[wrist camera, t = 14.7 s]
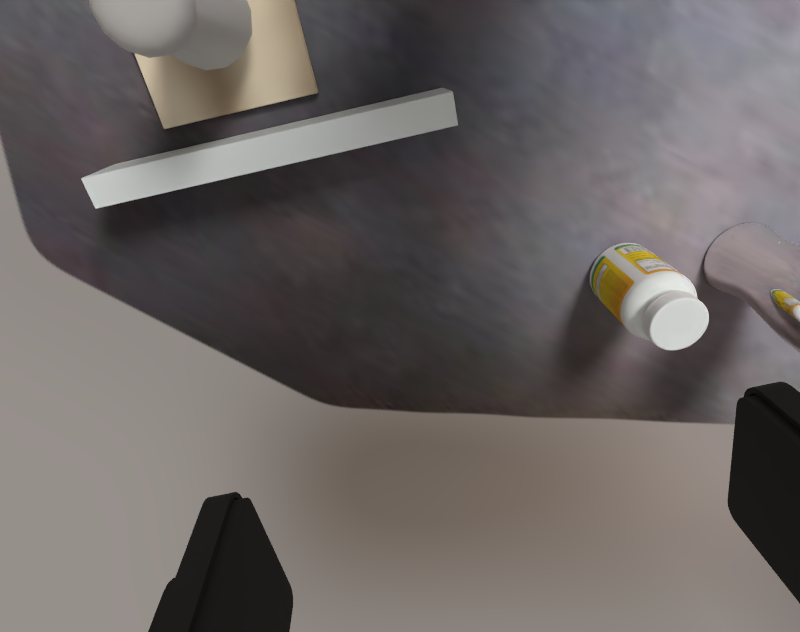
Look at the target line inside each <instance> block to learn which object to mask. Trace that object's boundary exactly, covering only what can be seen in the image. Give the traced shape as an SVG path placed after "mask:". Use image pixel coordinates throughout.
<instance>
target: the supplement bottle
mask: <svg viewBox="0 0 800 632" xmlns="http://www.w3.org/2000/svg"><path fill="white" fill-rule="evenodd" d="M590 285H591V288H592V291H593V292H594V294H595V295H596V296H597V297H598V298H599V299H600V301H601V302H602V303H603V304H604V305H605V306H606V307H607V308H608V309H609V310H610V311H611V312H612V314H613V315H614V316H615V317H616V318H617V319H618V320H619V321H620V322H621V323H622V324H623V325H624V327H625V328H626V329H627V330H628V331H629V332H630V333H632V334H633V335H635V336H637V337H639V338H642V339H646V340H651V341H652V342H653V343H654V344H655V345H656V346H658V347H660V348H662V349H665V350H680V349H683V348H686V347H688V346H690V345H692V344H693V343H695V342H696V341H697V340H698V339H699V338H700V337H701V336H702V335H703V333H704V332H705V330H706V328H707V326H708V322H709V314H708V310H707V308H706V306H705V305H704V304H703V303H702V302H701V301H700V300H698V299H697V292H696V289H695V287H694V285H693V284H692V283H691V281H690V280H689V279H688V278H686V277H685V276H684V275H683V274H681V273H680V272H678V271H677V270H676V269H674V268H673V267H671V266H670V265H669V264H667V263H666V262H664V261H663V260H662V259H660V258H659V257H657V256H656V255H655V254H653V253H652V252H651V251H649V250H648V249H646V248H644V247H643V246H641V245H639V244H635V243H620V244H617V245H614V246H612V247H610V248H608V249H606V250H605V251H604V252H603V253H601V254H600V255H599V257H598V258H597V259H596V261H595V262H594V265H593V267H592V269H591V272H590Z"/></svg>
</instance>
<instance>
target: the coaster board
mask: <svg viewBox="0 0 800 632" xmlns="http://www.w3.org/2000/svg"><path fill="white" fill-rule="evenodd" d="M247 2H248V4H249V7H250V9H251V17H252V35H251V38H250V40H249V43H248V45H247V47H246V50H245V52H244V54H243V55H242V56H240V57H239V58H238V59H237V60H235V61H234V62H233V63H232V64H230V65H229V66H228V67H227V68H220V69H213V70H207V71H206V70H203V69H200V68H197V67H194V66H191V65H188V64H185V63H183V62H181V61H180V60H178V59H176V58H175V57H173V56H171V55H166V56H159V57H152V58H148V57H145V56H142V55H139V54H136V53H134V54H135V57H136V59H137V62H138V64H139V67H140V69H141V72H142V74H143V77H144V79H145V82H146V85H147V87H148V90H149V92H150V95H151V97H152V100H153V102H154V105H155V107H156V110H157V112H158V115H159V118H160V120H161V123H162V125H163V128H164V129H167V128H171V127H176V126H180V125H184V124H188V123H193V122H197V121H201V120H205V119H210V118H214V117H218V116H222V115H227V114H231V113H235V112H239V111H244V110H248V109H252V108H256V107H260V106H265V105H269V104H273V103H277V102H282V101H286V100H290V99H294V98H299V97H303V96H307V95H311V94H316V93H319V92H318V88H317V84H316V81H315V77H314V73H313V69H312V65H311V61H310V58H309V54H308V50H307V46H306V42H305V38H304V35H303V31H302V27H301V23H300V19H299V15H298V11H297V8H296V4H295V0H247Z"/></svg>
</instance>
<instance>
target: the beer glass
mask: <svg viewBox="0 0 800 632" xmlns="http://www.w3.org/2000/svg"><path fill="white" fill-rule="evenodd" d="M704 274H705V277H706V279H707V281H708V282H709V284H710V285H711V286H713V287H714V288H716V289H717V290H720V291H722V292H725V293H728V294H731V295H734V296H736V297H738V298H740V299H742V300H743V301H745V302H746V303H747V304H749V305H750V306H751V307H752V308H753V309H754V310H755V311H756V313H757V314H758V315H759V316H760V317H761V318H762V319H763V320H764V321H765V322H766V323H767V324H768V325H769V327H770V328H771V329H772V330H773V331H774V332H775V333H776V334H777V335H779V336H780V337H781V338H782V339H783V340H784V341H785V342H786V343H787V344H789V345H790V346H791V347H793V348H794V349H795V350H797V351H798V352H799V353H800V245H797V244H794V243H791V242H789V241H787V240H785V239H784V238H782V237H781V236H780V235H779V234H778V233H776V232H775V231H774V230H772V229H771V228H769V227H768V226H766V225H763V224H760V223H754V222H748V223H742V224H738V225H736V226H733V227H731V228H729V229H728V230H726V231H725V232H723V233H722V234H721V235H719V236H718V237H717V238H716V239H715V241H714V242H713V243H712V244H711V246H710V247H709V249H708V251H707V253H706V256H705V259H704Z"/></svg>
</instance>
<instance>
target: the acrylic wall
mask: <svg viewBox="0 0 800 632" xmlns="http://www.w3.org/2000/svg"><path fill="white" fill-rule="evenodd" d="M457 125H458V121H457V115H456V108H455V102H454V95H453V91H450V90H448V89H445V88H443V87H442V88H438V89H434V90H430V91H425V92H421V93H417V94H412V95H408V96H404V97H400V98H395V99H391V100H387V101H383V102H378V103H374V104H370V105H365V106H361V107H357V108H353V109H348V110H344V111H340V112H335V113H331V114H327V115H323V116H318V117H314V118H310V119H306V120H301V121H297V122H293V123H288V124H284V125H280V126H276V127H271V128H267V129H263V130H258V131H254V132H250V133H246V134H241V135H237V136H233V137H229V138H224V139H220V140H216V141H211V142H207V143H203V144H199V145H194V146H190V147H186V148H181V149H177V150H173V151H169V152H164V153H160V154H156V155H152V156H147V157H143V158H139V159H134V160H130V161H126V162H122V163H117V164H114V165H112V166H109V167H107V168H104V169H102V170H100V171H97V172H95V173H92V174H90V175H88V176H85V177H83V178H81V180H82V182H83V184H84V186H85V188H86V190H87V192H88V194H89V196H90V198H91V200H92V202H93V204H94V207H95V209H97V208H101V207H105V206H110V205H114V204H118V203H123V202H127V201H131V200H136V199H140V198H145V197H149V196H153V195H158V194H162V193H166V192H171V191H175V190H179V189H184V188H188V187H192V186H197V185H201V184H205V183H210V182H214V181H218V180H223V179H227V178H231V177H236V176H240V175H244V174H249V173H253V172H257V171H262V170H266V169H270V168H275V167H279V166H284V165H288V164H292V163H297V162H301V161H305V160H310V159H314V158H318V157H323V156H327V155H331V154H336V153H340V152H344V151H349V150H353V149H357V148H362V147H366V146H370V145H375V144H379V143H383V142H388V141H392V140H396V139H401V138H405V137H409V136H414V135H418V134H423V133H427V132H431V131H436V130H440V129H444V128H449V127H453V126H457Z"/></svg>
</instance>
